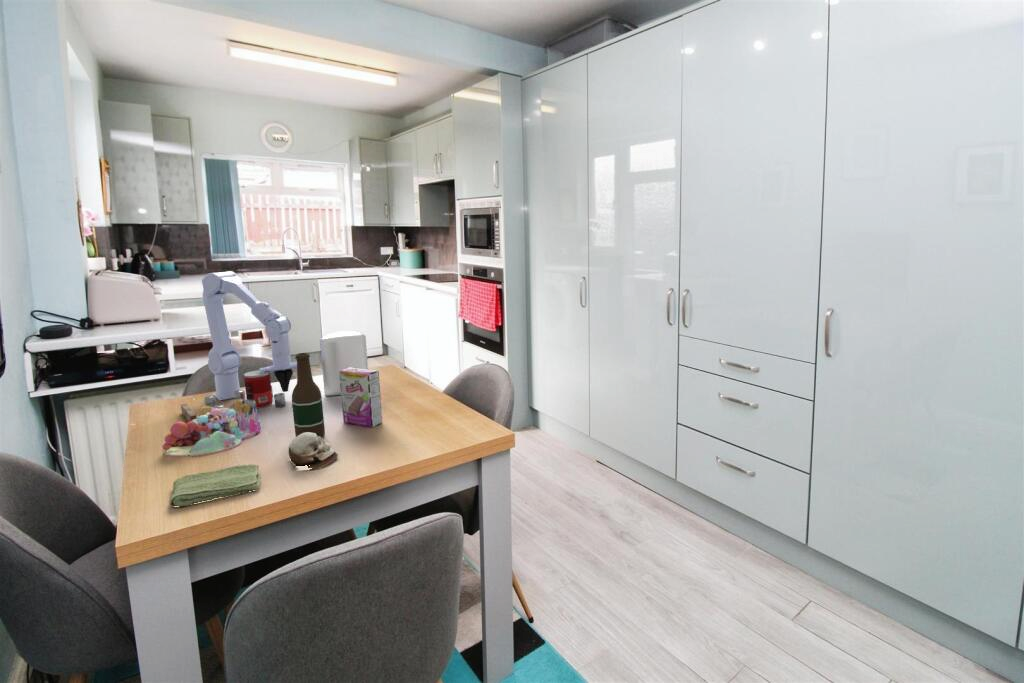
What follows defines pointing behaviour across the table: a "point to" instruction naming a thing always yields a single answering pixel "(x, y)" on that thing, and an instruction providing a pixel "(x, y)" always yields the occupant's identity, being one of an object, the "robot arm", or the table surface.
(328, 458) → the skull
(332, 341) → the white tall block
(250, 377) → the canned food
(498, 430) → the table surface
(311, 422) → the beer bottle
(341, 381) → the candy bar box
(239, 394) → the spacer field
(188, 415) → the stop batten
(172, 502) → the washcloth
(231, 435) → the candy landscape model
